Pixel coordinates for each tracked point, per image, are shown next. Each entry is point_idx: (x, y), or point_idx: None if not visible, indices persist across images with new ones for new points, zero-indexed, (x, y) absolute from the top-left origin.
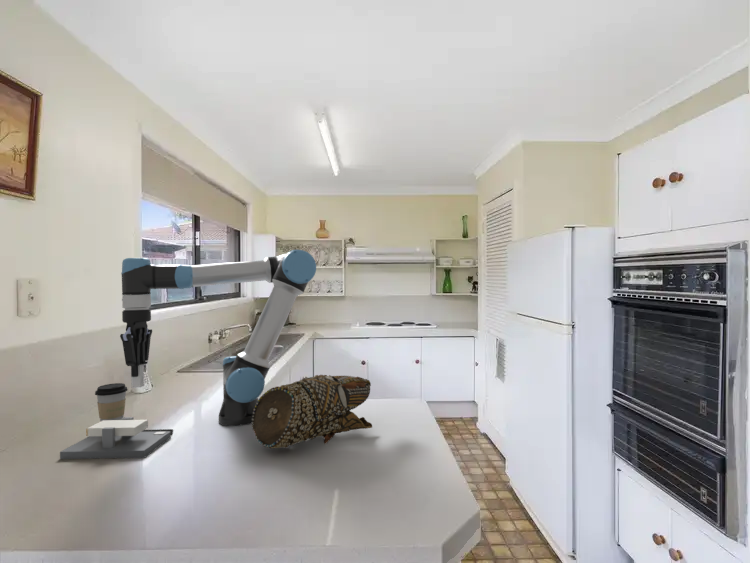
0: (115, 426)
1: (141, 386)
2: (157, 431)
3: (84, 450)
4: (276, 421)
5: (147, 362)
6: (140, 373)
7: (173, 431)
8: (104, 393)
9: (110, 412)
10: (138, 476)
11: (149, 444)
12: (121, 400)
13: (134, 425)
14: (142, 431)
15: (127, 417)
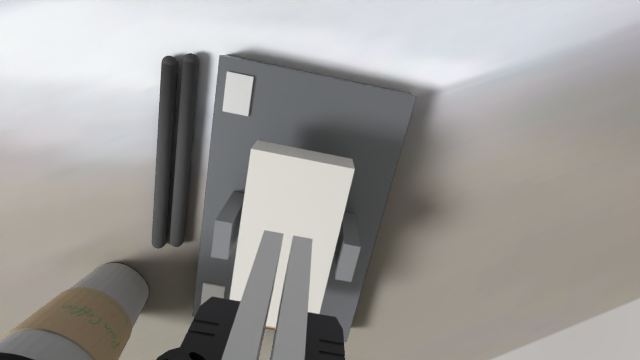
0: (319, 248)
1: (297, 237)
2: (185, 119)
3: (355, 285)
4: None
5: (161, 355)
6: (302, 310)
7: (173, 57)
8: None
9: (116, 330)
10: (570, 59)
11: (357, 96)
12: (57, 333)
13: (324, 179)
14: (177, 177)
15: (216, 242)
